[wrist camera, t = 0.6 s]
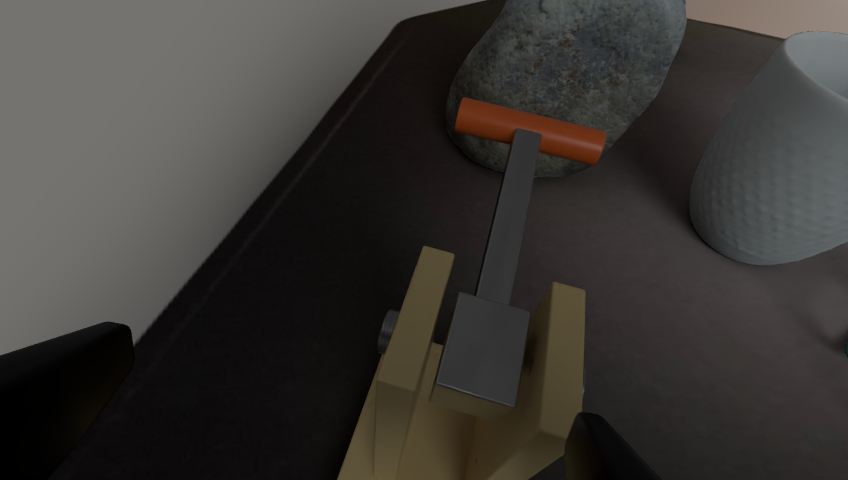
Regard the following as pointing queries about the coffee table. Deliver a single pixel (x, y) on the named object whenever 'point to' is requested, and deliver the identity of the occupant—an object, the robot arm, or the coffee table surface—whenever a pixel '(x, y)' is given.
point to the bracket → (457, 431)
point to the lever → (501, 263)
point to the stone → (568, 69)
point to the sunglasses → (846, 349)
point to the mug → (780, 159)
